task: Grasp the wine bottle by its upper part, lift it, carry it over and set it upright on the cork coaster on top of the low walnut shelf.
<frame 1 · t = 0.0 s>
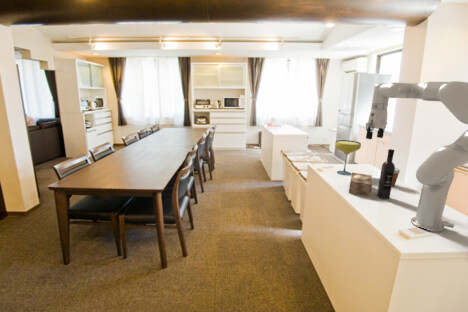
hand: (374, 138, 139), 37 cm above the table, tool pointing down, fingers open, 9 cm apart
cocktail glass: (344, 173, 197), on the table
disposable coffee cup: (389, 185, 173), on the table
wine bottle: (382, 197, 152), on the table
walnut shelf: (359, 189, 164), on the table
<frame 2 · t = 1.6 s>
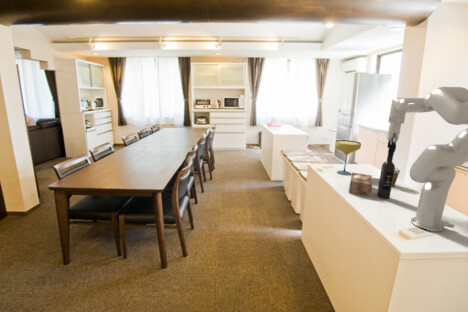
hand: (390, 149, 145), 30 cm above the table, tool pointing down, fingers open, 9 cm apart
nothing on the table moved.
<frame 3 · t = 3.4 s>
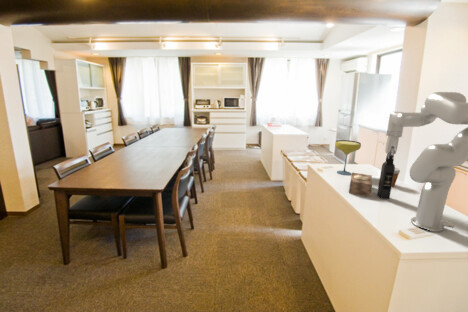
hand: (388, 163, 147), 21 cm above the table, tool pointing down, fingers closed on wine bottle, 5 cm apart
wine bottle: (382, 197, 152), on the table, touching gripper
everything else where it was.
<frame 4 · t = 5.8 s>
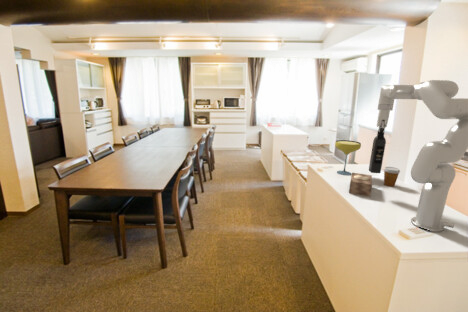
hand: (380, 137, 149), 36 cm above the table, tool pointing down, fingers closed on wine bottle, 5 cm apart
wine bottle: (374, 172, 154), point 14 cm above the table, touching gripper
everything else where it was.
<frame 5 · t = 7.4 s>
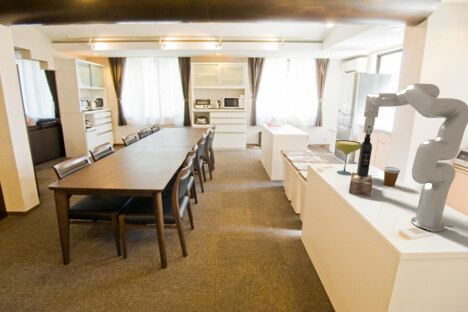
hand: (366, 143, 156), 31 cm above the table, tool pointing down, fingers closed on wine bottle, 5 cm apart
wine bottle: (361, 176, 161), point 10 cm above the table, touching gripper
everything else where it was.
when the fingers open (31 cm above the table, at t = 8.1 s): wine bottle drops 1 cm, resting on walnut shelf.
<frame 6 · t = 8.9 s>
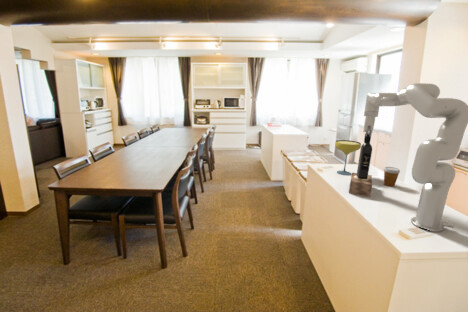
hand: (366, 141, 156), 32 cm above the table, tool pointing down, fingers open, 9 cm apart
wine bottle: (361, 177, 161), point 8 cm above the table, touching walnut shelf
everything else where it was.
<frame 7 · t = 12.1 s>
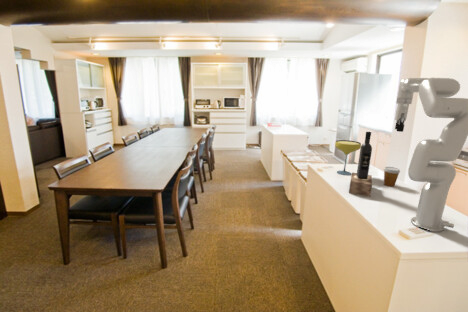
hand: (398, 130, 149), 40 cm above the table, tool pointing down, fingers open, 9 cm apart
nothing on the table moved.
at the end: wine bottle inside the target area on the walnut shelf (0.2 cm from its centre), point 8.2 cm above the walnut shelf's base; wine bottle tilted 0°; the gripper is holding nothing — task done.
